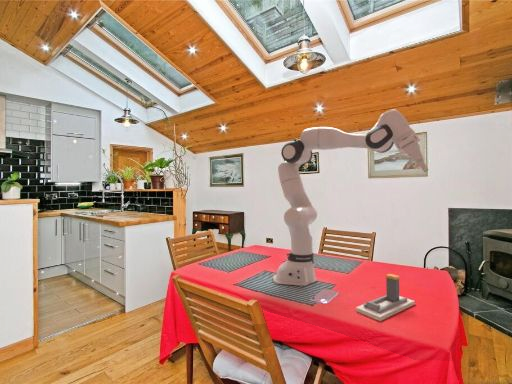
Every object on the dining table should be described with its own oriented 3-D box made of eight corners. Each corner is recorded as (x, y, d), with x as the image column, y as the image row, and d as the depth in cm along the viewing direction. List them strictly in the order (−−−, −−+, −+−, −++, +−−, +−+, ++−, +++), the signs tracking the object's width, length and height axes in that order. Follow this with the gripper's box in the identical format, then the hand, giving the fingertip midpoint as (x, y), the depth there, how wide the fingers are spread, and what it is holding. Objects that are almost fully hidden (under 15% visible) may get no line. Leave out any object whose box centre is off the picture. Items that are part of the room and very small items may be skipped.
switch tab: (389, 297, 115) (389, 273, 115) (399, 300, 111) (399, 276, 111) (386, 299, 113) (385, 274, 113) (396, 302, 110) (395, 277, 110)
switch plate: (391, 296, 120) (390, 287, 120) (414, 304, 112) (414, 294, 112) (356, 311, 107) (355, 301, 107) (379, 321, 99) (379, 310, 99)
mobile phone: (339, 291, 126) (326, 302, 114) (339, 293, 126) (326, 305, 114) (324, 288, 130) (309, 298, 119) (324, 290, 131) (309, 300, 119)
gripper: (402, 149, 127) (419, 175, 124) (397, 144, 110) (417, 173, 106) (416, 141, 124) (434, 168, 121) (413, 134, 107) (434, 165, 103)
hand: (426, 170), depth 113 cm, fingers open, 8 cm apart
